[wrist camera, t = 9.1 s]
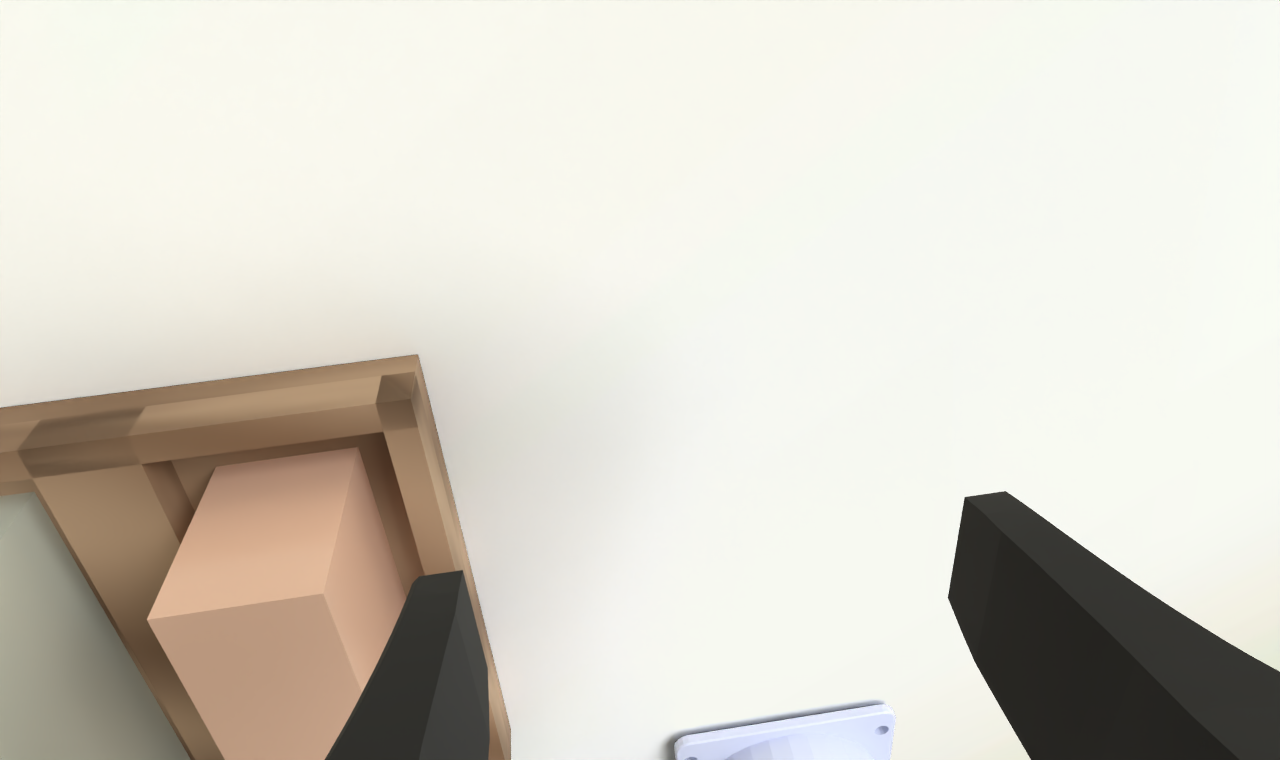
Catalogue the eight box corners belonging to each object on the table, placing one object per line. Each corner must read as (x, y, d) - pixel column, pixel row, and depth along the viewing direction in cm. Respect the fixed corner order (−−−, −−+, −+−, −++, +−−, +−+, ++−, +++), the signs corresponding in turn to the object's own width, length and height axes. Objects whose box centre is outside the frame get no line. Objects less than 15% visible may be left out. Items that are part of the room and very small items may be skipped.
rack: (510, 730, 30) (511, 783, 28) (55, 801, 29) (27, 862, 27) (418, 354, 22) (410, 398, 20) (-221, 436, 21) (-285, 490, 19)
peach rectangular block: (445, 721, 28) (434, 878, 24) (334, 738, 28) (304, 901, 24) (358, 447, 22) (323, 593, 18) (215, 466, 22) (146, 619, 18)
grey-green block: (191, 761, 27) (135, 929, 23) (76, 779, 27) (-3, 953, 23) (34, 491, 21) (-80, 653, 17) (-116, 511, 21) (-269, 680, 17)
